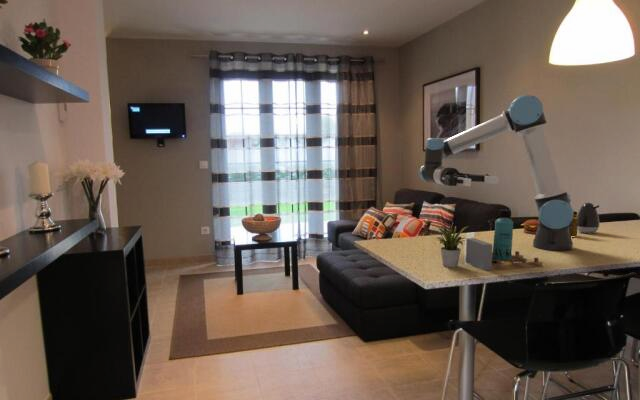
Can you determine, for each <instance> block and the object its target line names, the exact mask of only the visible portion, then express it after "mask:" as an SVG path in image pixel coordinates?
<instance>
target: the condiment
mask: <svg viewBox="0 0 640 400" xmlns="http://www.w3.org/2000/svg"><path fill="white" fill-rule="evenodd" d="M573 213H574V215H573V219H572V221H571V222H570V223H569V232H570V236H577V235H578V229H577V226H578V217H577V215H578V211H574V210H573Z"/></svg>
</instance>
